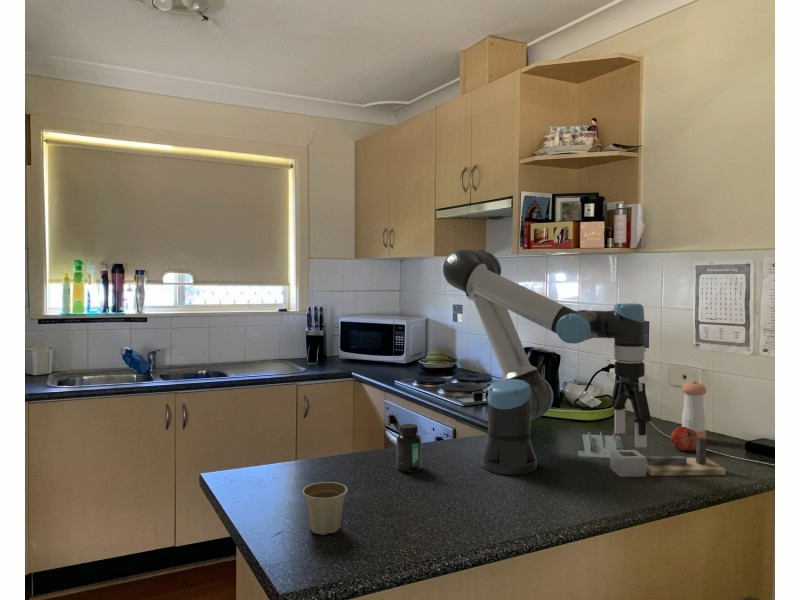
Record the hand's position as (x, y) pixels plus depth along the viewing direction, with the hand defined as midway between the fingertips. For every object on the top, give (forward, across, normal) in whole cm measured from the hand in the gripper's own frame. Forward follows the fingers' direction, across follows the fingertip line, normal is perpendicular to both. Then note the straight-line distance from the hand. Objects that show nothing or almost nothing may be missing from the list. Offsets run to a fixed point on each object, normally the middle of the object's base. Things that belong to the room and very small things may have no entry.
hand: (629, 439), depth 158 cm
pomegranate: (+9, +19, -24) cm, 33 cm away
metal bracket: (+9, +18, +1) cm, 21 cm away
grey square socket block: (+9, 0, 0) cm, 9 cm away
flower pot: (+8, -33, +78) cm, 85 cm away
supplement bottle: (+8, +5, +60) cm, 60 cm away
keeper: (+9, +2, -14) cm, 17 cm away
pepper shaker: (+9, +29, -32) cm, 45 cm away
